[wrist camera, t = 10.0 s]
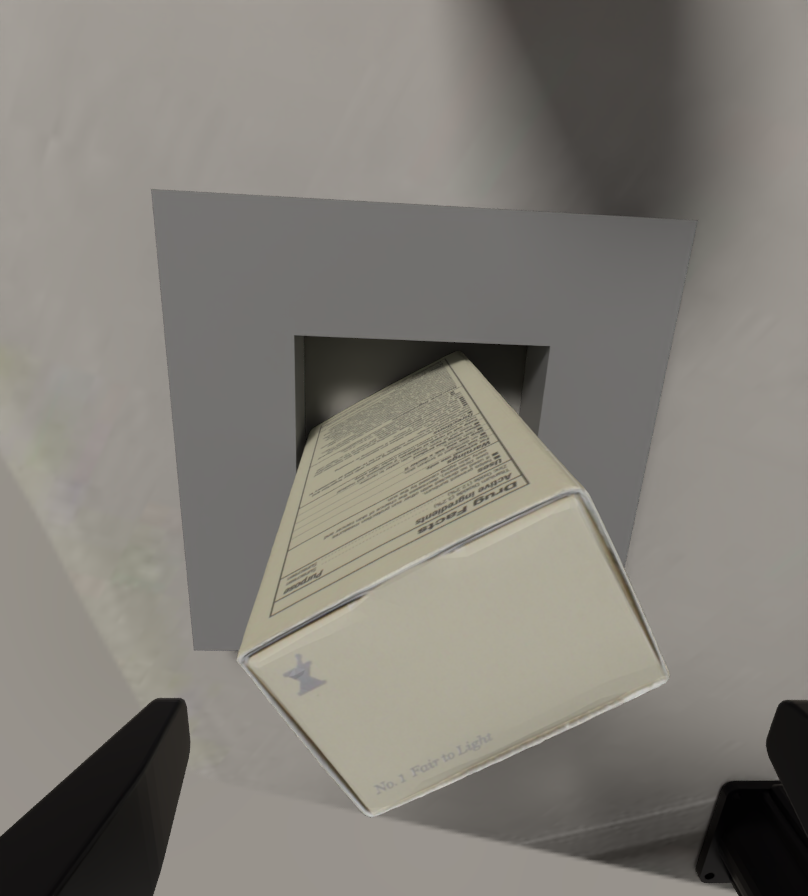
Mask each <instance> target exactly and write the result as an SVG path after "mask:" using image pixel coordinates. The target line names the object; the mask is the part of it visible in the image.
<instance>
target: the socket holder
mask: <svg viewBox="0 0 808 896" xmlns="http://www.w3.org/2000/svg"><path fill="white" fill-rule="evenodd" d="M151 193H152V203H153V214H154V225H155V236H156V247H157V257H158V268H159V279H160V290H161V301H162V311H163V322H164V333H165V344H166V355H167V365H168V376H169V387H170V398H171V408H172V419H173V430H174V441H175V452H176V462H177V473H178V484H179V495H180V506H181V516H182V527H183V538H184V549H185V560H186V570H187V581H188V592H189V603H190V614H191V624H192V635H193V646H194V650H204V651H239V649H240V646H241V643H242V640H243V637H244V633H245V630H246V627H247V624H248V621H249V618H250V615H251V612H252V609H253V606H254V603H255V600H256V597H257V594H258V591H259V588H260V585H261V582H262V579H263V576H264V573H265V569H266V566H267V563H268V560H269V557H270V554H271V550H272V547H273V544H274V541H275V538H276V534H277V532H278V529H279V526H280V523H281V520H282V516H283V514H284V511H285V508H286V504H287V501H288V498H289V495H290V491H291V488H292V485H293V483H294V479H295V476H296V473H297V470H298V467H299V464H300V461H301V458H302V455H303V452H304V448H305V372H304V336H323V337H347V338H370V339H393V340H417V341H440V342H464V343H487V344H511V345H528V348H527V356H526V364H525V372H524V380H523V388H522V396H521V404H520V412H519V416H520V417H521V418H522V420H523V421H524V422H525V423H526V424H527V425H528V426H529V428H530V429H531V430H532V431H533V432H534V433H535V434H536V436H537V437H538V438H539V439H540V440H541V441H542V442H543V443H544V445H545V446H546V447H547V448H548V449H549V450H550V451H551V452H552V453H553V454H554V456H555V457H556V458H557V459H558V460H559V461H560V462H561V463H562V464H563V465H564V466H565V468H566V469H567V470H568V471H569V472H570V473H571V474H572V475H573V476H574V478H575V479H576V480H577V481H578V482H579V483H580V484H581V485H582V486H583V487H584V488H585V489H586V491H587V492H588V493H589V495H590V497H591V499H592V501H593V503H594V505H595V507H596V509H597V511H598V513H599V515H600V517H601V520H602V522H603V524H604V526H605V528H606V530H607V532H608V534H609V536H610V539H611V541H612V543H613V545H614V547H615V549H616V551H617V553H618V556H619V558H620V560H621V562H622V564H623V567H625V562H626V558H627V553H628V548H629V544H630V539H631V534H632V529H633V525H634V520H635V515H636V510H637V506H638V501H639V496H640V492H641V487H642V482H643V477H644V473H645V468H646V463H647V458H648V454H649V449H650V444H651V439H652V435H653V430H654V425H655V421H656V416H657V411H658V406H659V402H660V397H661V392H662V387H663V383H664V378H665V373H666V369H667V364H668V359H669V354H670V350H671V345H672V340H673V335H674V331H675V326H676V321H677V317H678V312H679V307H680V302H681V298H682V293H683V288H684V283H685V279H686V274H687V269H688V264H689V260H690V255H691V250H692V246H693V241H694V236H695V231H696V227H697V222H698V220H682V219H664V218H647V217H630V216H612V215H595V214H577V213H560V212H542V211H525V210H507V209H490V208H473V207H455V206H438V205H420V204H403V203H385V202H368V201H350V200H333V199H316V198H298V197H281V196H263V195H246V194H228V193H211V192H194V191H176V190H159V189H151Z"/></svg>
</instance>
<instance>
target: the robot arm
mask: <svg viewBox="0 0 808 896" xmlns="http://www.w3.org/2000/svg"><path fill="white" fill-rule="evenodd" d="M766 748H767V753H768V756H769V758H770V761H771V763H772V765H773V767H774V769H775V771H776V773H777V775H778V777H779V779H780V781H733V782H729V783H727V784H726V785H724V786H723V788H722V790H721V793H720V797H719V800H718V803H717V806H716V809H715V812H714V815H713V818H712V821H711V824H710V827H709V830H708V833H707V836H706V839H705V842H704V845H703V848H702V851H701V854H700V857H699V860H698V863H697V866H696V872H697V874H698V876H699V878H700V880H701V881H702V882H704V883H732V885H733V886H734V888H735V890H736V892H737V894H738V895H739V896H808V700H785V701H782V702H781V703H780V704H779V705H778V707H777V710H776V713H775V716H774V718H773V721H772V724H771V727H770V730H769V733H768V736H767V739H766ZM189 753H190V733H189V723H188V714H187V706H186V703H185V700H183V699H181V698H157V699H155V700H153V701H152V702H150V703H149V704H148V705H147V706H146V707H145V708H144V709H142V710H141V711H140V712H139V713H138V714H137V715H136V716H135V717H134V718H132V719H131V720H130V721H129V722H128V723H127V724H126V725H125V726H123V727H122V728H121V729H120V730H119V731H118V732H117V733H116V734H114V735H113V736H112V737H111V738H110V739H109V740H108V741H107V742H106V743H104V744H103V745H102V746H101V747H100V748H99V749H98V750H97V751H96V752H94V753H93V754H92V755H91V756H90V757H89V758H88V759H87V760H85V761H84V762H83V763H82V764H81V765H80V766H79V767H78V768H77V769H75V770H74V771H73V772H72V773H71V774H70V775H69V776H68V777H66V778H65V779H64V780H63V781H62V782H61V783H60V784H59V785H57V786H56V787H55V788H54V789H53V790H52V791H51V792H50V793H49V794H48V795H46V796H45V797H44V798H43V799H42V800H41V801H40V802H39V803H37V804H36V805H35V806H34V807H33V808H32V809H31V810H30V811H28V812H27V813H26V814H25V815H24V816H23V817H22V818H21V819H19V820H18V821H17V822H16V823H15V824H14V825H13V826H12V827H11V828H9V829H8V830H7V831H6V832H5V833H4V834H3V835H2V836H0V896H153V894H154V891H155V887H156V884H157V881H158V878H159V875H160V871H161V868H162V864H163V860H164V856H165V853H166V848H167V844H168V840H169V836H170V832H171V828H172V824H173V820H174V815H175V812H176V807H177V804H178V800H179V795H180V791H181V787H182V783H183V779H184V775H185V771H186V767H187V763H188V759H189Z"/></svg>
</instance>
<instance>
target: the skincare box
mask: <svg viewBox="0 0 808 896" xmlns="http://www.w3.org/2000/svg"><path fill="white" fill-rule="evenodd" d="M237 662H238V663H239V665H240V666H241V667H242V668H243V669H244V670H245V672H246V673H247V674H248V675H249V676H250V677H251V679H252V680H253V681H254V683H255V684H256V686H257V687H258V688H259V690H260V691H261V692H262V693H263V694H264V696H265V697H266V698H267V699H268V701H269V702H270V703H271V705H272V706H273V707H274V708H275V709H276V711H277V712H278V714H279V715H280V716H281V717H282V718H283V719H284V720H285V722H286V723H287V725H288V726H289V727H290V729H291V730H292V731H293V732H294V733H295V734H296V736H297V737H298V738H299V739H300V740H301V742H302V743H303V744H304V745H305V746H306V748H307V749H308V750H309V751H310V752H311V754H312V755H313V756H314V757H315V759H316V760H317V762H318V763H319V764H320V765H321V766H322V768H323V769H324V770H325V771H326V772H327V773H328V775H329V776H330V777H331V778H332V779H333V780H334V781H335V782H336V784H337V785H338V786H339V787H340V788H341V789H342V791H343V792H344V793H345V794H346V795H347V796H348V797H349V799H350V800H351V801H352V802H353V803H354V804H355V805H356V806H357V808H358V809H359V810H360V812H361V813H363V814H364V815H365V816H367V817H375V816H378V815H381V814H383V813H385V812H387V811H389V810H391V809H393V808H396V807H399V806H402V805H404V804H406V803H408V802H411V801H413V800H415V799H418V798H420V797H423V796H425V795H428V794H430V793H431V792H434V791H436V790H438V789H440V788H442V787H445V786H447V785H449V784H451V783H454V782H456V781H458V780H461V779H463V778H465V777H466V776H468V775H471V774H473V773H475V772H479V771H481V770H483V769H485V768H487V767H489V766H491V765H493V764H495V763H498V762H500V761H502V760H505V759H507V758H509V757H511V756H513V755H514V754H517V753H519V752H521V751H523V750H525V749H527V748H530V747H533V746H535V745H538V744H540V743H542V742H543V741H544V740H546V739H550V738H551V737H553V736H556V735H558V734H560V733H562V732H564V731H567V730H569V729H571V728H574V727H576V726H578V725H580V724H582V723H584V722H586V721H588V720H590V719H592V718H594V717H596V716H598V715H600V714H602V713H604V712H607V711H609V710H611V709H613V708H615V707H618V706H620V705H622V704H624V703H626V702H628V701H630V700H633V699H635V698H637V697H638V696H640V695H642V694H645V693H647V692H649V691H651V690H653V689H655V688H658V687H660V686H662V685H663V684H665V683H666V682H667V681H668V679H669V677H670V676H669V671H668V668H667V666H666V664H665V661H664V659H663V657H662V655H661V652H660V650H659V648H658V646H657V643H656V641H655V638H654V636H653V633H652V631H651V629H650V627H649V624H648V622H647V619H646V617H645V614H644V612H643V610H642V607H641V605H640V603H639V601H638V599H637V596H636V594H635V592H634V590H633V587H632V585H631V583H630V580H629V578H628V576H627V573H626V571H625V569H624V567H623V564H622V562H621V560H620V558H619V556H618V553H617V551H616V549H615V547H614V545H613V543H612V541H611V539H610V536H609V534H608V532H607V530H606V528H605V526H604V524H603V522H602V520H601V517H600V515H599V513H598V511H597V509H596V507H595V505H594V503H593V501H592V499H591V497H590V495H589V493H588V492H587V491H586V489H585V488H584V487H583V486H582V485H581V484H580V483H579V482H578V481H577V480H576V479H575V478H574V476H573V475H572V474H571V473H570V472H569V471H568V470H567V469H566V468H565V466H564V465H563V464H562V463H561V462H560V461H559V460H558V459H557V458H556V457H555V456H554V454H553V453H552V452H551V451H550V450H549V449H548V448H547V447H546V446H545V445H544V443H543V442H542V441H541V440H540V439H539V438H538V437H537V436H536V434H535V433H534V432H533V431H532V430H531V429H530V428H529V426H528V425H527V424H526V423H525V422H524V421H523V420H522V418H521V417H520V416H519V415H518V414H517V413H516V412H515V411H514V409H513V408H512V407H510V405H509V404H508V403H507V402H506V401H505V400H504V398H503V397H502V396H501V395H500V394H499V393H498V392H497V391H496V389H495V388H494V387H493V386H492V385H491V384H490V383H489V382H488V381H487V379H486V378H485V377H484V376H483V375H482V374H481V372H480V371H479V370H478V369H477V368H476V367H475V366H474V365H473V364H472V362H471V361H470V360H469V359H468V358H467V357H466V356H465V355H464V354H463V353H462V352H461V351H456V352H453V353H451V354H449V355H447V356H445V357H443V358H441V359H439V360H437V361H435V362H433V363H431V364H429V365H427V366H425V367H424V368H422V369H420V370H418V371H416V372H414V373H412V374H410V375H408V376H406V377H405V378H403V379H401V380H399V381H397V382H395V383H393V384H391V385H389V386H387V387H386V388H384V389H382V390H380V391H378V392H377V393H375V394H373V395H371V396H369V397H367V398H365V399H363V400H362V401H360V402H358V403H356V404H354V405H353V406H351V407H349V408H347V409H345V410H343V411H342V412H340V413H338V414H337V415H335V416H333V417H331V418H330V419H328V420H326V421H325V422H323V423H321V424H319V425H317V426H316V427H314V428H313V429H312V430H311V431H310V433H309V436H308V439H307V442H306V445H305V448H304V452H303V455H302V458H301V461H300V464H299V467H298V470H297V473H296V476H295V479H294V483H293V485H292V488H291V491H290V495H289V498H288V501H287V504H286V508H285V511H284V514H283V516H282V520H281V523H280V526H279V529H278V532H277V534H276V538H275V541H274V544H273V547H272V550H271V554H270V557H269V560H268V563H267V566H266V569H265V573H264V576H263V579H262V582H261V585H260V588H259V591H258V594H257V597H256V600H255V603H254V606H253V609H252V612H251V615H250V618H249V621H248V624H247V627H246V630H245V633H244V637H243V640H242V643H241V646H240V649H239V652H238V656H237Z"/></svg>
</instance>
